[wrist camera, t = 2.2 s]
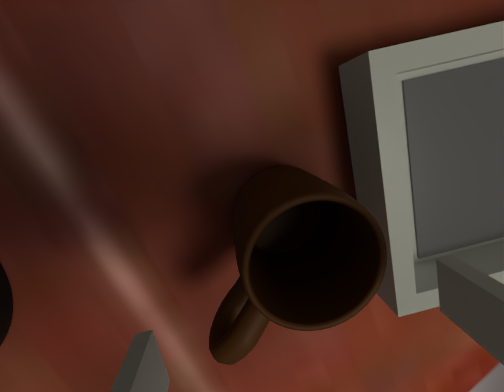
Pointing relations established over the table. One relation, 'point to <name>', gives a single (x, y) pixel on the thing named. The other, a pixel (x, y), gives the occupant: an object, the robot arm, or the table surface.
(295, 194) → the mug
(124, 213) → the table surface
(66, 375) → the table surface
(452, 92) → the tray
